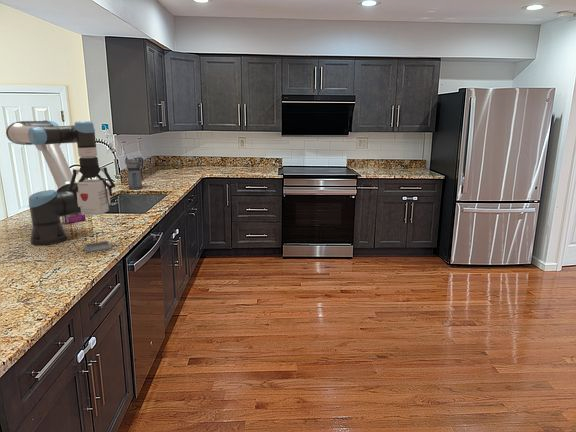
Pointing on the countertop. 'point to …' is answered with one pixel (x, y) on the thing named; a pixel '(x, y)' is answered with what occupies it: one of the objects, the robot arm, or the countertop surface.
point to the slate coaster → (97, 246)
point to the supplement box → (92, 197)
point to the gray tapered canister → (134, 173)
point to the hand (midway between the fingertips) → (94, 204)
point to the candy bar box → (73, 218)
